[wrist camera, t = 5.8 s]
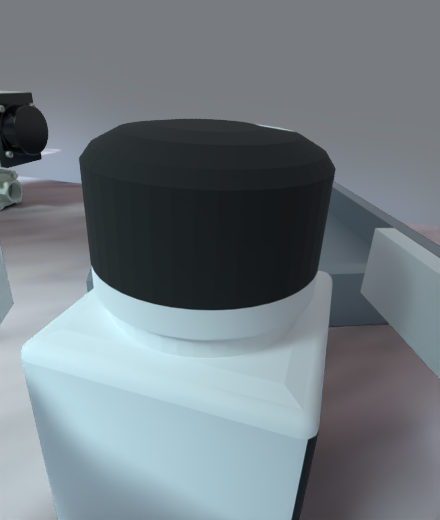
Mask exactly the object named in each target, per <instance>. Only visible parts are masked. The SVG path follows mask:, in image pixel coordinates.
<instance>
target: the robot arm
mask: <svg viewBox="0 0 440 520" xmlns="http://www.w3.org/2000/svg"><path fill="white" fill-rule="evenodd" d="M360 292H361V293H362V295H363V296H364V297H365V298H366V299H367V300H368V301H369V302H370V303H371V304H372V305H373V307H374V308H375V309H376V310H377V311H378V312H379V313H380V314H381V315H382V316H383V318H384V319H385V320H386V321H387V322H388V323H389V324H390V325H391V326H392V327H393V329H394V330H395V331H396V332H397V333H398V334H399V335H400V336H401V337H402V338H403V340H404V341H405V342H406V343H407V344H408V345H409V346H410V347H411V348H412V349H413V350H414V352H415V353H416V354H417V355H418V356H419V357H420V358H421V359H422V360H423V361H424V363H425V364H426V365H427V366H428V367H429V368H430V369H431V370H432V371H433V372H434V374H435V375H436V376H437V377H438V378H439V379H440V258H439V257H437V256H436V255H434V254H433V253H431V252H430V251H428V250H427V249H425V248H424V247H422V246H421V245H419V244H418V243H416V242H415V241H413V240H412V239H410V238H409V237H407V236H406V235H404V234H403V233H401V232H400V231H398V230H397V229H395V228H375V232H374V236H373V240H372V245H371V249H370V253H369V257H368V262H367V266H366V270H365V274H364V279H363V283H362V287H361V291H360ZM13 304H14V303H13V299H12V294H11V289H10V285H9V280H8V276H7V271H6V267H5V262H4V258H3V253H2V249H1V244H0V324H1V323H2V321H3V319H4V318H5V316H6V315H7V313H8V312H9V310H10V309H11V307H12V305H13Z"/></svg>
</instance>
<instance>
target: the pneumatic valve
mask: <svg viewBox="0 0 440 520" xmlns="http://www.w3.org/2000/svg"><path fill="white" fill-rule="evenodd" d="M47 140H48V127H47V123H46V120H45V118H44V116H43V114H42V113H41V112H40V111H39V110H38V109H37V108H36V107H35V104H34V103H33V100H32V94H31V93H29V92H14V91H0V167H5V168H9V167H13V166H17V165H21V164H25V163H29V162H32V161H36V160H40V159H41V152H42V151H43V150H44V148H45V146H46V144H47ZM17 178H18V174H17V173H16V172H15V171H11V170H4V169H0V210H2V209H3V208H4V206H8V205H11V204H13V203H17V204H18V203H20V202H21V201H22V196H23V187H22V185H21V184H20V182H19V181H18V180H16V179H17Z"/></svg>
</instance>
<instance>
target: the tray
mask: <svg viewBox="0 0 440 520" xmlns="http://www.w3.org/2000/svg"><path fill="white" fill-rule="evenodd" d="M375 228H395V229H397V230H398V231H400V232H401V233H403V234H404V235H406V236H407V237H409V238H410V239H412V240H413V241H415V242H416V243H418V244H419V245H421V246H422V247H424V248H425V249H427V250H428V251H430V252H431V253H433V254H434V255H436V256H437V257H439V258H440V246H439V245H437V244H435V243H434V242H432V241H431V240H429V239H427V238H426V237H424V236H422V235H421V234H419V233H418V232H416V231H414V230H413V229H411V228H409V227H408V226H406V225H405V224H403V223H401V222H400V221H398V220H396V219H395V218H393V217H391V216H390V215H388V214H386V213H385V212H383V211H381V210H380V209H379V208H377V207H375V206H374V205H372V204H371V203H369V202H367V201H366V200H364V199H362V198H361V197H359V196H358V195H356V194H354V193H352V192H351V191H349V190H348V189H346V188H345V187H343V186H341V185H339V184H338V183H336V182H335V181H333V186H332V192H331V197H330V203H329V209H328V215H327V220H326V226H325V232H324V238H323V243H322V249H321V255H320V261H319V266H318V271H324V272H326V273H328V274H329V275H330V276H331V278H332V295H331V306H330V316H329V326H350V325H370V324H389V323H388V322H387V321H386V320H385V319H384V318H383V316H382V315H381V314H380V313H379V312H378V311H377V310H376V309H375V308H374V307H373V305H372V304H371V303H370V302H369V301H368V300H367V299H366V298H365V297H364V296H363V295H362V293H361V292H360V291H361V287H362V283H363V279H364V274H365V270H366V266H367V262H368V257H369V253H370V249H371V245H372V240H373V236H374V232H375ZM86 282H87V290H88V292H90V291H91V290H92V289H93V288H94V286H93V277H92V269H90V272H89V275H88V278H87V281H86Z"/></svg>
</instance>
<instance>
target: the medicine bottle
mask: <svg viewBox="0 0 440 520" xmlns="http://www.w3.org/2000/svg"><path fill="white" fill-rule="evenodd" d="M79 162H80V170H81V180H82V189H83V198H84V206H85V215H86V224H87V233H88V242H89V251H90V260H91V269H92V277H93V286H94V288H93V289H92V290H91V291H90V292H88V293H87V294H86V295H85V296H83V297H82V298H81V299H79V300H78V301H77V302H76V303H74V304H73V305H72V306H71V307H69V308H68V309H67V310H66V311H64V312H63V313H62V314H61V315H59V316H58V317H57V318H56V319H54V320H53V321H52V322H51V323H49V324H48V325H47V326H46V327H44V328H43V329H42V330H41V331H39V332H38V333H37V334H36V335H34V336H33V337H32V338H30V339H29V340H28V341H27V342H26V343H25V344H24V345H23V346H22V348H21V360H22V365H23V369H24V373H25V378H26V382H27V387H28V391H29V395H30V400H31V404H32V409H33V413H34V417H35V422H36V426H37V430H38V435H39V439H40V444H41V448H42V452H43V457H44V461H45V466H46V470H47V474H48V479H49V483H50V487H51V492H52V496H53V501H54V505H55V509H56V514H57V518H58V520H299V517H300V513H301V508H302V504H303V499H304V495H305V490H306V486H307V481H308V477H309V472H310V467H311V463H312V458H313V454H314V449H315V445H316V440H317V436H318V431H319V423H320V413H321V402H322V391H323V380H324V370H325V359H326V348H327V338H328V327H329V316H330V306H331V295H332V278H331V276H330V275H329V274H328V273H326V272H324V271H318V266H319V261H320V255H321V249H322V243H323V238H324V232H325V226H326V220H327V215H328V209H329V203H330V197H331V192H332V186H333V180H334V174H335V167H334V165H333V164H332V162H331V160H330V158H329V156H328V155H327V153H326V151H325V150H324V149H322V148H321V147H319V146H318V145H316V144H315V143H313V142H311V141H310V140H308V139H307V138H305V137H304V136H302V135H300V134H299V133H297V132H294V131H291V130H287V129H283V128H278V127H272V126H266V125H259V124H252V123H245V122H238V121H227V120H212V119H172V120H153V121H140V122H132V123H127V124H122V125H119V126H118V127H116V128H114V129H112V130H110V131H108V132H106V133H104V134H102V135H100V136H98V137H97V138H95V139H93V140H91V142H90V143H89V144H88V146H87V147H86V149H85V150H84V152H83V153H82V155H81V156H80V158H79Z"/></svg>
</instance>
